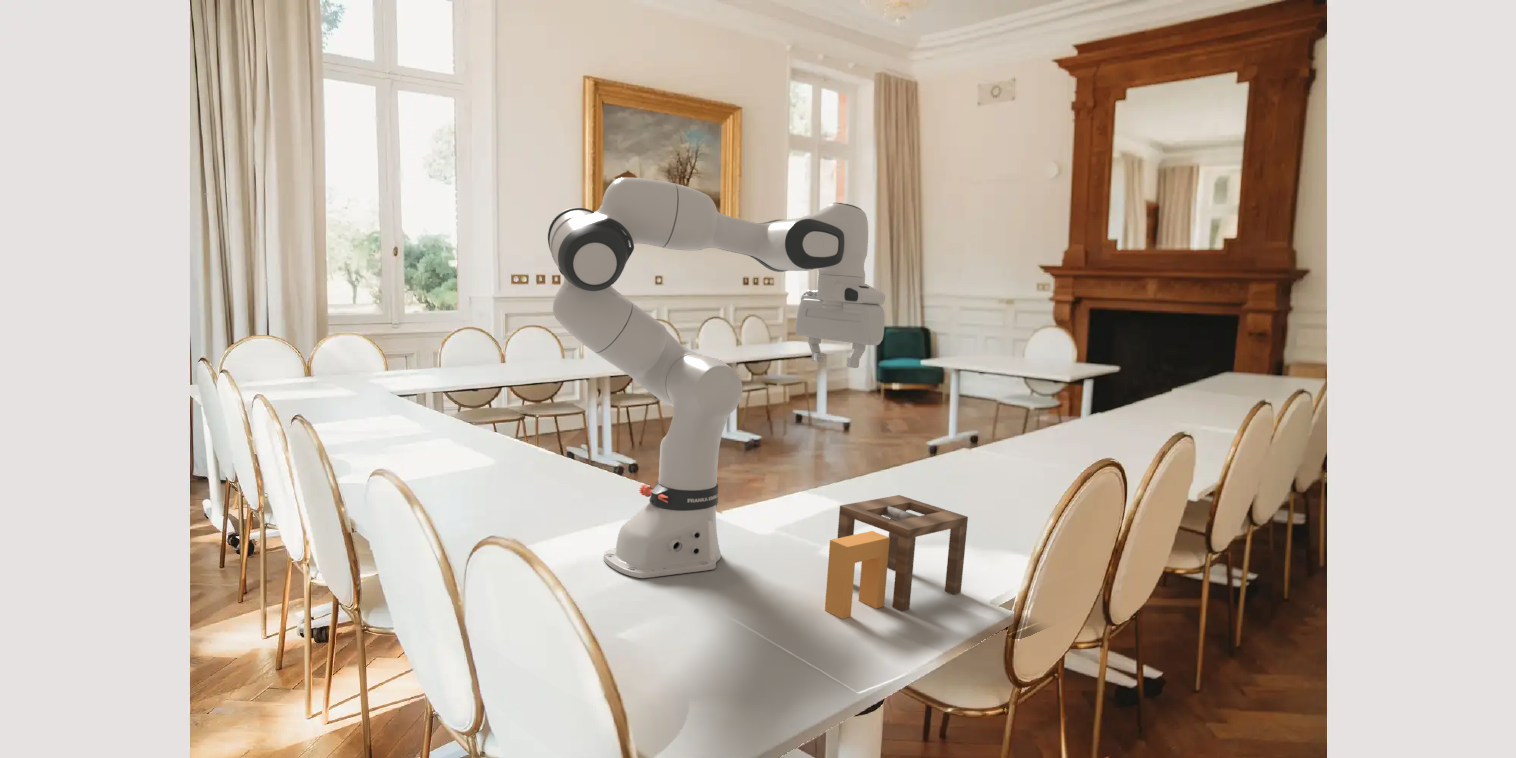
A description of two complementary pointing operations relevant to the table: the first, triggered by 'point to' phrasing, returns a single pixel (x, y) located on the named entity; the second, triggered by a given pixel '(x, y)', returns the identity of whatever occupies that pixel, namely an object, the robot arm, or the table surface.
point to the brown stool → (909, 537)
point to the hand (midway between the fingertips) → (834, 364)
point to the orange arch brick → (841, 571)
